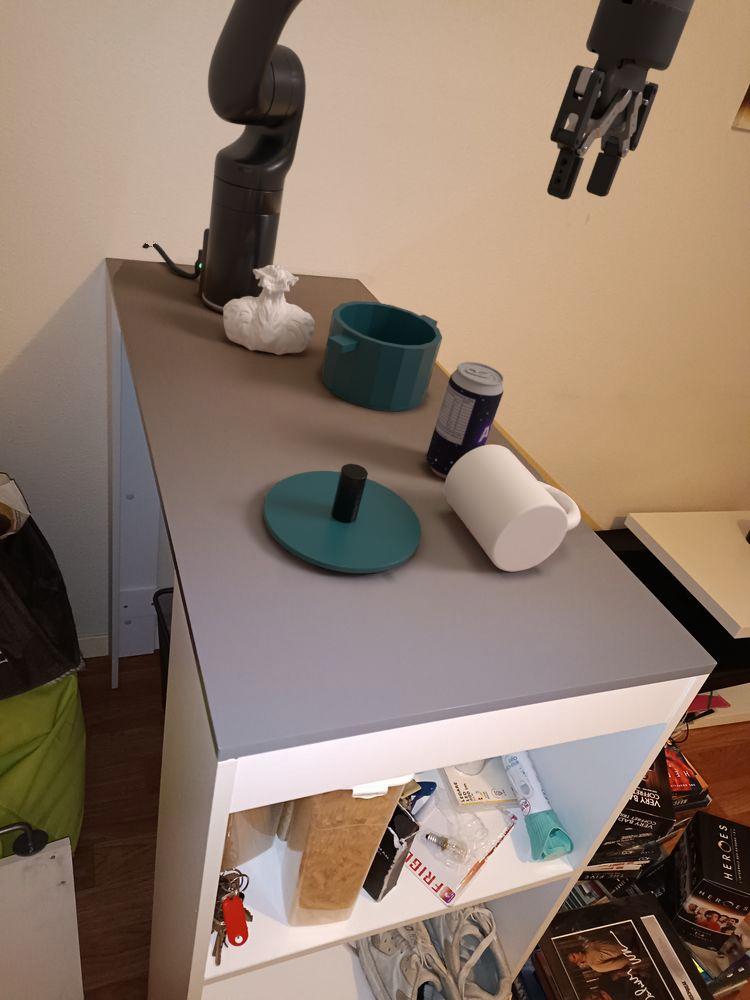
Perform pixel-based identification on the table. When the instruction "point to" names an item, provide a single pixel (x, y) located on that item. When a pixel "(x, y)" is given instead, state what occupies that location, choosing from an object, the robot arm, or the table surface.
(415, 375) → the pot
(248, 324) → the white tied bag
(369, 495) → the lid
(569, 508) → the mug
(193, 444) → the table surface
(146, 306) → the table surface
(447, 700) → the table surface
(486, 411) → the beverage can
